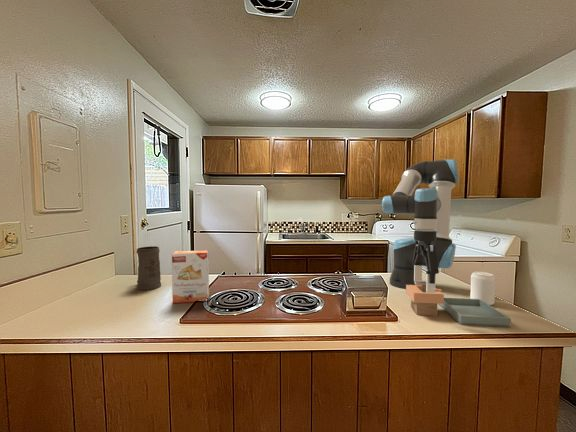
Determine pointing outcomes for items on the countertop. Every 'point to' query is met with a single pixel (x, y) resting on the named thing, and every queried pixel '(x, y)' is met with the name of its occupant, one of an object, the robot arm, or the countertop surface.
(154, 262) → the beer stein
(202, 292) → the cracker box
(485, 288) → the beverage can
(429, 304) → the block
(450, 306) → the tray
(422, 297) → the orange square frame
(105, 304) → the countertop surface
